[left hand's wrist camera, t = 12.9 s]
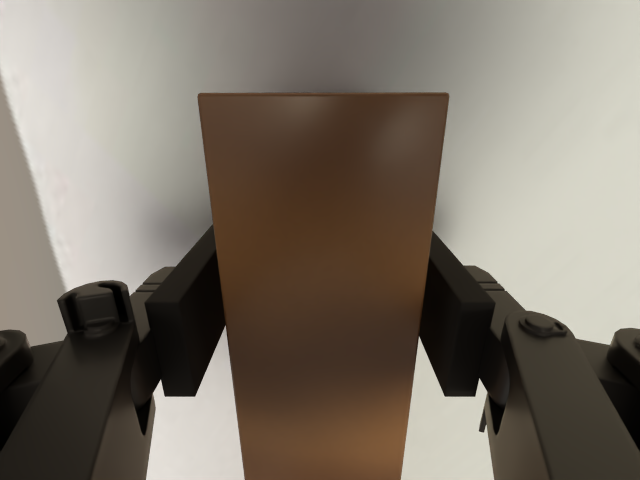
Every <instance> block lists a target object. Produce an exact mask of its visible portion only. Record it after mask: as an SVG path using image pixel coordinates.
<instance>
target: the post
mask: <svg viewBox="0 0 640 480" xmlns="http://www.w3.org/2000/svg"><path fill="white" fill-rule="evenodd" d="M448 103H449V94H448V93H446V92H415V93H200V94H198V105H199V113H200V121H201V129H202V137H203V145H204V153H205V162H206V170H207V178H208V186H209V194H210V202H211V210H212V218H213V226H214V234H215V242H216V250H217V258H218V267H219V275H220V283H221V291H222V299H223V307H224V315H225V323H226V331H227V339H228V347H229V355H230V363H231V372H232V380H233V388H234V396H235V404H236V412H237V420H238V428H239V436H240V444H241V452H242V460H243V468H244V477H245V480H401V473H402V465H403V457H404V449H405V441H406V433H407V426H408V418H409V410H410V402H411V394H412V386H413V378H414V370H415V362H416V355H417V347H418V339H419V331H420V323H421V315H422V307H423V299H424V292H425V284H426V276H427V268H428V260H429V252H430V244H431V236H432V229H433V221H434V213H435V205H436V197H437V189H438V181H439V173H440V166H441V158H442V150H443V142H444V134H445V126H446V118H447V110H448Z"/></svg>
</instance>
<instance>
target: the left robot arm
mask: <svg viewBox="0 0 640 480" xmlns="http://www.w3.org/2000/svg"><path fill="white" fill-rule="evenodd" d="M57 302H58V305H59V308H60V311H61V314H62V317H63V320H64V323H65V326H66V329H67V333H68V334H67V336H66V337H65V339H64V341H59V342H53V343H48V344H43V345H38V346H32V347H30V344H29V342H28V339H27V337H26V334H25V333H23V332H21V331H20V330H3V331H0V480H146V475H147V467H148V460H149V453H150V446H151V438H152V431H153V424H154V417H155V409H156V407H155V401H154V397H153V392H154V390H155V388H156V387H157V385H158V383H159V381H160V380H161V381H162V386H163V390H164V395H165V397H195V396H196V393H197V391H198V388H199V386H200V384H201V381H202V379H203V377H204V374H205V372H206V370H207V367H208V365H209V363H210V360H211V358H212V356H213V353H214V351H215V348H216V346H217V344H218V341H219V339H220V337H221V334H222V332H223V330H224V327H225V325H226V323H225V315H224V307H223V299H222V291H221V283H220V275H219V267H218V258H217V250H216V242H215V234H214V226H213V225H212V226H211V227H210V228H209V229H208V231H207V232H206V233H205V234H204V235H203V236H202V237H201V239H200V240H199V241H198V242H197V243H196V244H195V245H194V247H193V248H192V249H191V250H190V251H189V252H188V253H187V255H186V256H185V257H184V258H183V259H182V260H181V261H180V262H179V264H178V265H177V266H176V267H164V268H162V269H160V270H159V271H157V272H155V273H153V274H151V275H150V276H149V277H148V278H147V279H146V280H145V281H144V282H143V285H141V286H140V287H139V288H138V289H137V290H136V292H134V293H133V294H132V295H131V296H130V295H129V291H128V287H127V285H126V284H124V283H123V282H120V281H113V280H110V281H99V282H94V283H89V284H85V285H83V286H80V287H77V288H74V289H72V290H70V291H69V292H67V293H65V294H63V295H62V296H61V297H60V298H59V299H58V300H57ZM419 337H420V339H421V341H422V344H423V346H424V348H425V351H426V353H427V356H428V358H429V360H430V363H431V365H432V367H433V370H434V372H435V374H436V377H437V379H438V381H439V384H440V386H441V389H442V391H443V393H444V396H445V397H475V395H476V390H477V386H478V381H479V378H480V380H481V381H482V383H483V385H484V387H485V388H486V390H487V397H486V401H485V405H484V409H483V414H482V418H481V422H480V427H479V431H480V432H484V430H485V426H486V425H487V430H488V437H489V445H490V452H491V459H492V466H493V474H494V480H640V329H635V328H625V329H620V330H618V331H617V332H615V334H614V337H613V339H612V342H611V344H610V345H606V344H601V343H595V342H590V341H585V340H579V339H576V338H575V336H574V335H573V333H572V332H571V331H570V330H569V328H568V327H567V326H566V325H564V324H563V323H561V322H559V321H558V320H556V319H554V318H552V317H549V316H547V315H545V314H541V313H537V312H533V311H526V310H525V309H524V308H523V307H522V306H521V305H520V304H519V303H518V302H517V301H516V300H515V299H514V298H513V297H512V296H511V295H510V294H509V293H508V292H507V291H505V289H504V288H503V287H502V286H501V285H500V284H497V281H496V280H495V279H494V278H493V277H492V276H491V275H490V274H489V273H488V272H486V271H484V270H482V269H480V268H478V267H476V266H463V265H462V264H461V262H460V261H459V260H458V259H457V258H456V257H455V256H454V255H453V253H452V252H451V251H450V250H449V249H448V248H447V247H446V245H445V244H444V243H443V242H442V241H441V240H440V239H439V237H438V236H437V235H436V234H435V233H434V232H433V231H432V236H431V244H430V252H429V260H428V268H427V276H426V284H425V292H424V299H423V307H422V315H421V323H420V331H419Z"/></svg>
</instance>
